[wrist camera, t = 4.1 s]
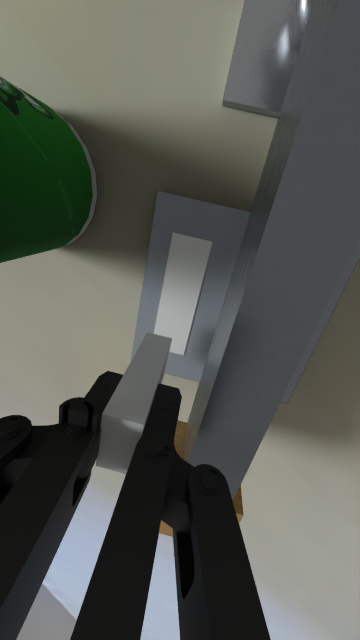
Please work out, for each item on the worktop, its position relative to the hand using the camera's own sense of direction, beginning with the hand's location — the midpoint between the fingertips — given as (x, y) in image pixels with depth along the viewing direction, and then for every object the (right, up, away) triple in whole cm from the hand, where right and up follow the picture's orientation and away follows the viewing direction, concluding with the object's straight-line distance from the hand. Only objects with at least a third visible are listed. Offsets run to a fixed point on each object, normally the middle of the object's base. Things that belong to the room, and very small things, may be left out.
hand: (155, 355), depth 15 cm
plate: (+5, +3, +2) cm, 6 cm away
